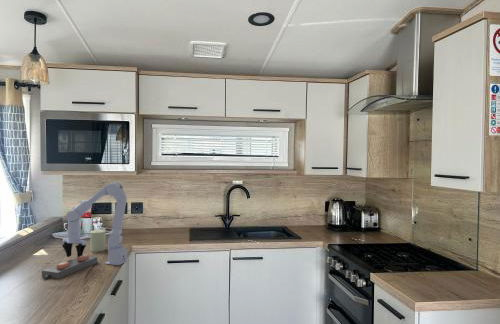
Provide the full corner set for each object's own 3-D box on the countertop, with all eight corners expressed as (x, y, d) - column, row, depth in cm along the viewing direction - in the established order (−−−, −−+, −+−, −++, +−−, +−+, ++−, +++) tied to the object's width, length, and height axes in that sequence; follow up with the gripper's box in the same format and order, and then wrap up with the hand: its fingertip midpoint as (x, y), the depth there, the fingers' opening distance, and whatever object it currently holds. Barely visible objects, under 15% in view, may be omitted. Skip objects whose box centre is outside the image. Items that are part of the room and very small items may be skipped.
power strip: (97, 262, 189) (97, 257, 189) (52, 281, 162) (52, 274, 162) (83, 260, 192) (82, 255, 192) (36, 278, 165) (36, 272, 165)
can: (88, 252, 209) (88, 232, 209) (91, 248, 218) (91, 229, 218) (104, 251, 212) (104, 231, 212) (107, 247, 221) (106, 228, 220)
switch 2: (88, 258, 186) (88, 254, 186) (81, 261, 181) (81, 257, 181) (84, 257, 187) (84, 254, 187) (77, 260, 182) (77, 256, 182)
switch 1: (69, 265, 174) (69, 261, 174) (61, 268, 169) (61, 264, 169) (64, 265, 175) (64, 261, 175) (56, 268, 170) (56, 264, 170)
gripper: (57, 232, 184) (57, 257, 185) (78, 234, 180) (79, 260, 180) (68, 230, 191) (68, 254, 191) (89, 231, 186) (89, 256, 187)
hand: (74, 257), depth 186 cm, fingers open, 7 cm apart
